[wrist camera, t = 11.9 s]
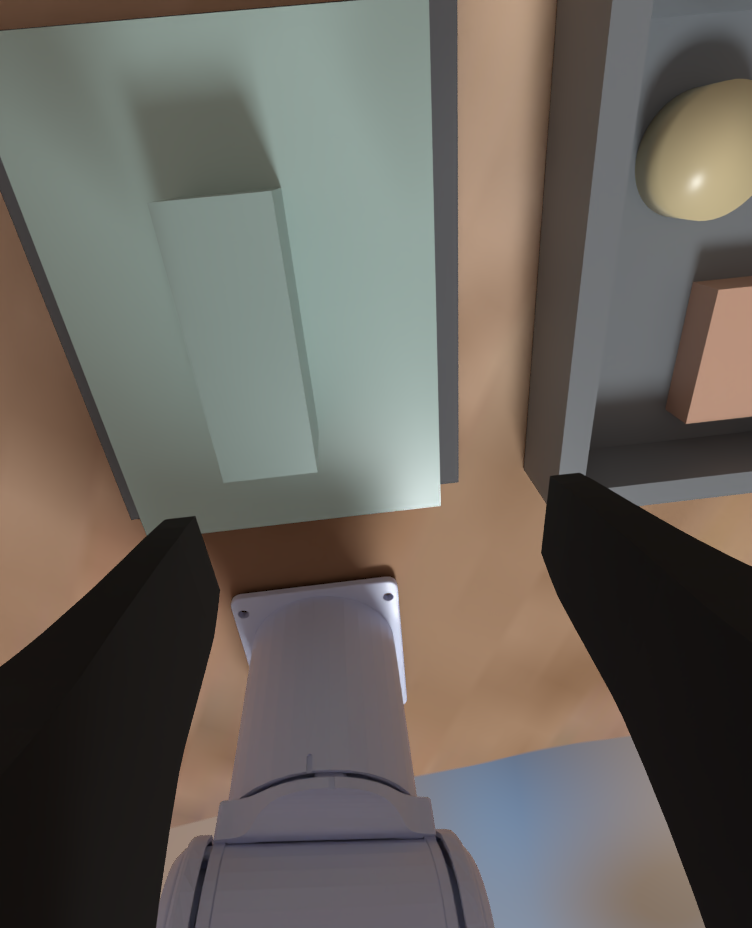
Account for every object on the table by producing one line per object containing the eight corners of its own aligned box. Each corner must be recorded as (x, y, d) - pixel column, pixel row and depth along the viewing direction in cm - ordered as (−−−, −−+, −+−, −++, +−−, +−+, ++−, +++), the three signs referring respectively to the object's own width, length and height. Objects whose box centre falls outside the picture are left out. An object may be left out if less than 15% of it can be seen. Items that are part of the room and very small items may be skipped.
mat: (456, 477, 22) (458, 482, 22) (134, 514, 22) (131, 519, 22) (454, -5, 14) (457, -10, 14) (-52, 38, 14) (-62, 35, 14)
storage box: (788, 439, 23) (858, 479, 20) (523, 469, 23) (554, 516, 19) (964, -49, 15) (1127, -106, 12) (558, -14, 15) (619, -63, 11)
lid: (435, 490, 22) (456, 552, 19) (156, 522, 22) (122, 592, 18) (421, 7, 14) (453, -50, 11) (-19, 45, 14) (-142, 0, 10)
